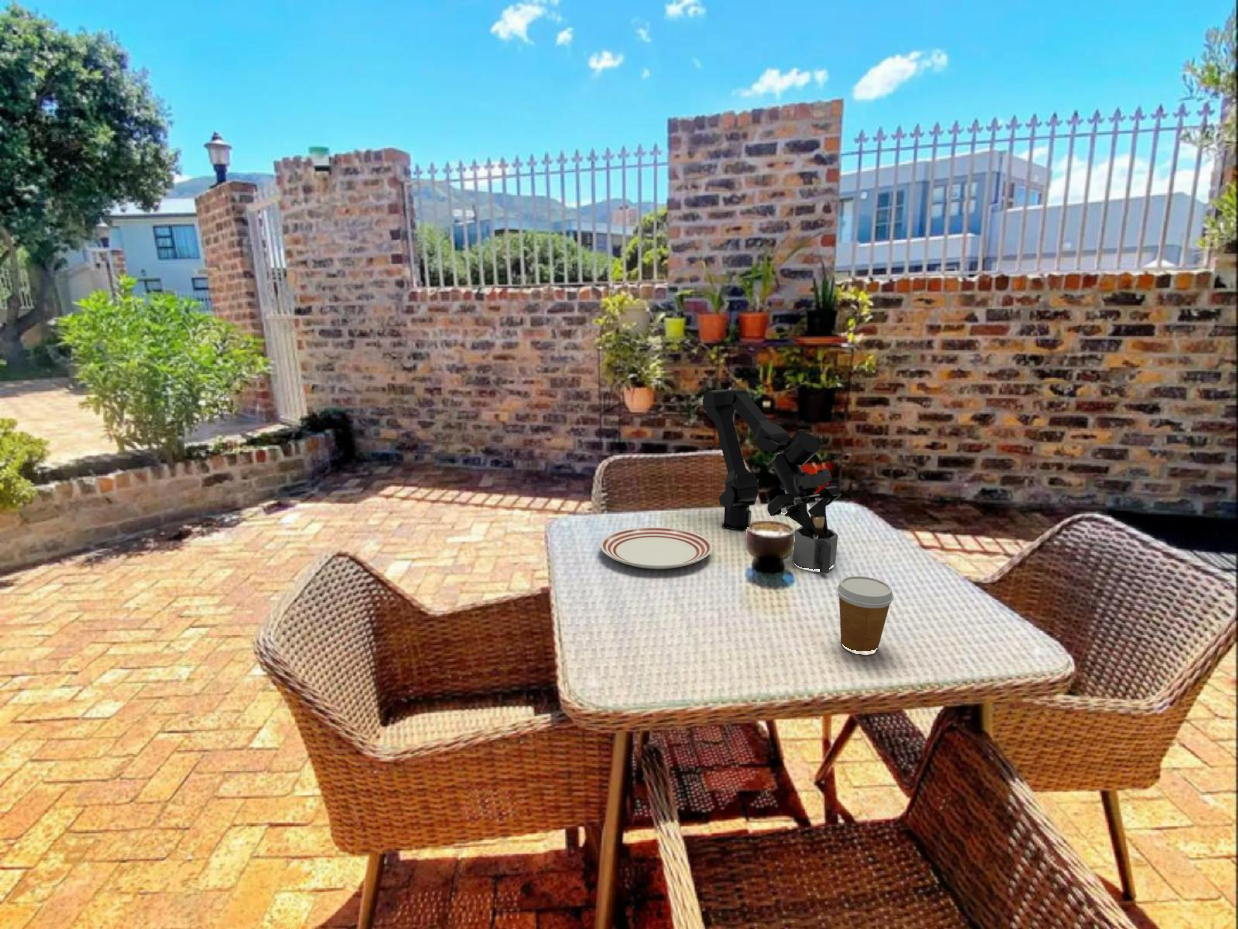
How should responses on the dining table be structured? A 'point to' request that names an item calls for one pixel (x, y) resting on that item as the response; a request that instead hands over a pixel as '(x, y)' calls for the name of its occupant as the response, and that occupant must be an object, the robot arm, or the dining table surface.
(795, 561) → the press carafe
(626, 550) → the dinner plate
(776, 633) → the dining table surface
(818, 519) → the plunger
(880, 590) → the disposable coffee cup
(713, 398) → the robot arm
